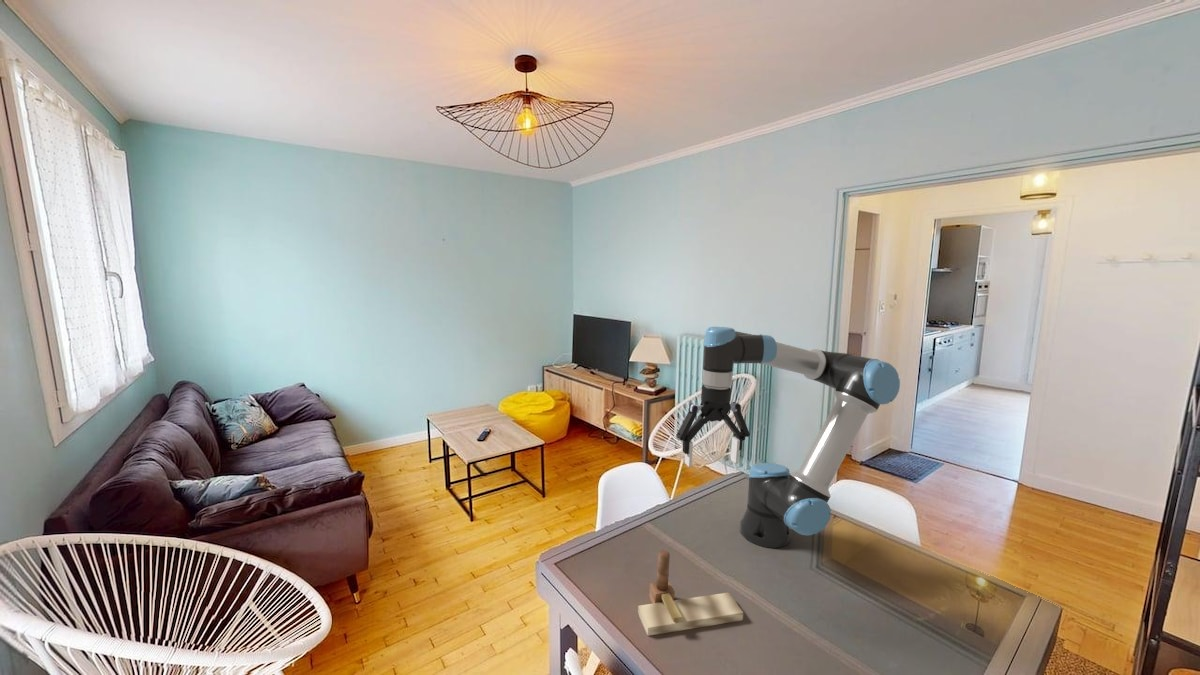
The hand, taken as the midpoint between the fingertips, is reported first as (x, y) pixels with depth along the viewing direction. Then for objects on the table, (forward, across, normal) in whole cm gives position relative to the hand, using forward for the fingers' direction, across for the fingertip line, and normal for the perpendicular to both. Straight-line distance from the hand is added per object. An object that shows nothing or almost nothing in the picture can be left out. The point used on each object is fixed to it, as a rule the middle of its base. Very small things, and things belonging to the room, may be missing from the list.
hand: (711, 463), depth 119 cm
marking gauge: (+32, +16, +12) cm, 38 cm away
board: (+32, +11, +14) cm, 37 cm away
